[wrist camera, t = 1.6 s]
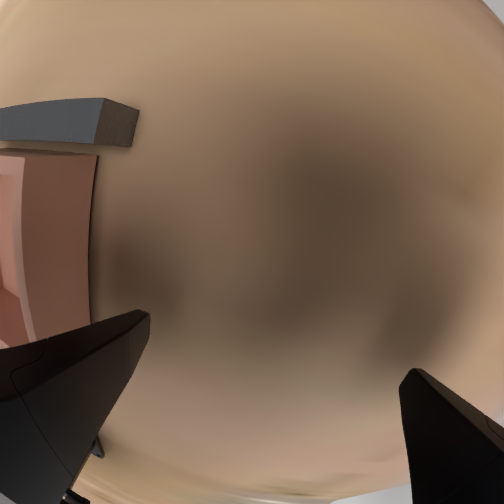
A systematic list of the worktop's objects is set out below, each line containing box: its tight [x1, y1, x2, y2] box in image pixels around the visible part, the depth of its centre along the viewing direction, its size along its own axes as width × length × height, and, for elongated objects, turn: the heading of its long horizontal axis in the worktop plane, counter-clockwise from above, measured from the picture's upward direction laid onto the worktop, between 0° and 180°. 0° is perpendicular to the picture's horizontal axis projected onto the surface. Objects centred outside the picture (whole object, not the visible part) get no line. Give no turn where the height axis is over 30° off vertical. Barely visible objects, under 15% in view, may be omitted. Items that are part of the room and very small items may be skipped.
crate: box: [0, 148, 97, 349], centre depth 9 cm, size 9×8×4 cm
